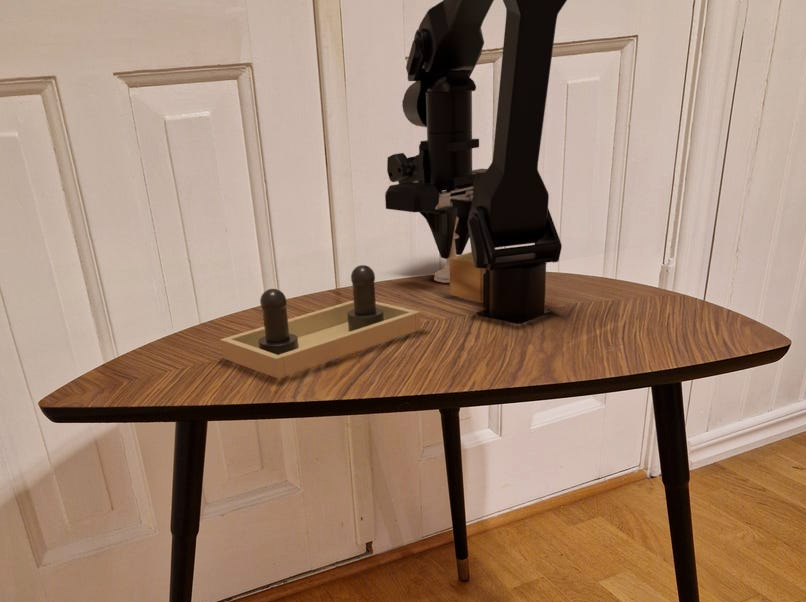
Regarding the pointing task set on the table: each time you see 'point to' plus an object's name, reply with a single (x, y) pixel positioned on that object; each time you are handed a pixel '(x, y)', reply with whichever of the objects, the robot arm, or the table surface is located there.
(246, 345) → the tray
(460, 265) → the maple block
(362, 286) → the pawn
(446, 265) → the chess piece
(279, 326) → the pawn
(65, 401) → the table surface
